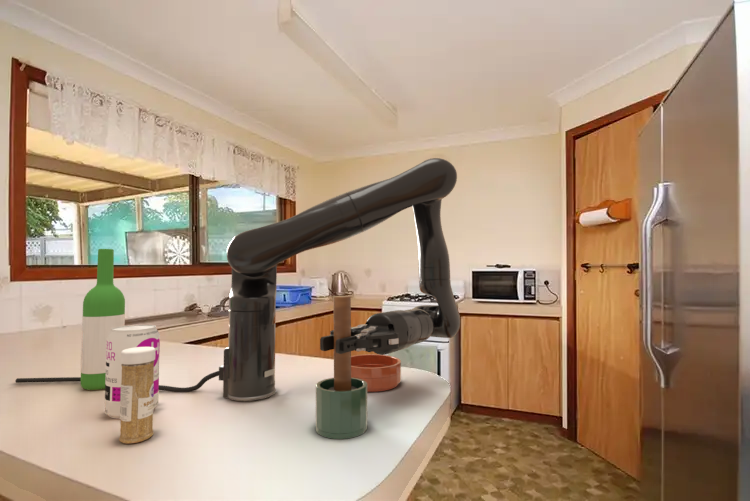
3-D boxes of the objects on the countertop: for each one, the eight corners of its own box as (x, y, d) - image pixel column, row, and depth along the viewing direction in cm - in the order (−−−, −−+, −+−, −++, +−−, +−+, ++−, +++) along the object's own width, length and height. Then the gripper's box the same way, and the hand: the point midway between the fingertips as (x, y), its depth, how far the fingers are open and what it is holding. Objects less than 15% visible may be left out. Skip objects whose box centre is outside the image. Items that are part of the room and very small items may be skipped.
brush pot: (309, 437, 60) (309, 390, 60) (323, 417, 68) (323, 376, 69) (362, 440, 59) (362, 393, 59) (370, 419, 67) (370, 378, 67)
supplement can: (168, 406, 74) (170, 325, 74) (127, 422, 66) (130, 332, 67) (135, 401, 76) (137, 323, 77) (93, 416, 69) (95, 329, 69)
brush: (324, 413, 62) (323, 297, 63) (331, 402, 67) (331, 295, 67) (354, 414, 61) (353, 297, 62) (360, 403, 66) (359, 295, 67)
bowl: (335, 391, 83) (335, 367, 83) (348, 374, 96) (348, 353, 96) (398, 394, 81) (398, 369, 81) (402, 376, 94) (402, 355, 94)
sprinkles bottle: (154, 439, 59) (156, 349, 60) (118, 447, 57) (121, 353, 57) (152, 429, 63) (154, 344, 64) (118, 436, 61) (120, 347, 61)
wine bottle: (71, 389, 84) (75, 248, 86) (108, 379, 92) (111, 250, 93) (95, 393, 81) (99, 247, 83) (131, 383, 89) (134, 249, 90)
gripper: (365, 309, 80) (299, 318, 66) (424, 313, 71) (363, 325, 58) (365, 346, 80) (299, 363, 66) (425, 355, 71) (364, 377, 57)
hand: (329, 345), depth 62 cm, fingers closed on brush, 3 cm apart
